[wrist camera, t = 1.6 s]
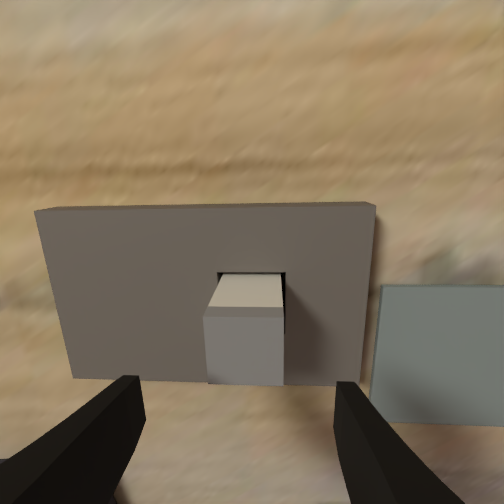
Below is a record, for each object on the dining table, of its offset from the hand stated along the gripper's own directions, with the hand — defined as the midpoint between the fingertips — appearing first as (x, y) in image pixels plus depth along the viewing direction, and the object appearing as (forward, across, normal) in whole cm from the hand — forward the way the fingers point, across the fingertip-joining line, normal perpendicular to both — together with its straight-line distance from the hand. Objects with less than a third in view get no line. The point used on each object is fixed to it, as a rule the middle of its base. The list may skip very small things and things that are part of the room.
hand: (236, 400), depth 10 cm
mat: (+10, -14, +5) cm, 18 cm away
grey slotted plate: (+10, +3, 0) cm, 10 cm away
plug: (+10, 0, 0) cm, 10 cm away
